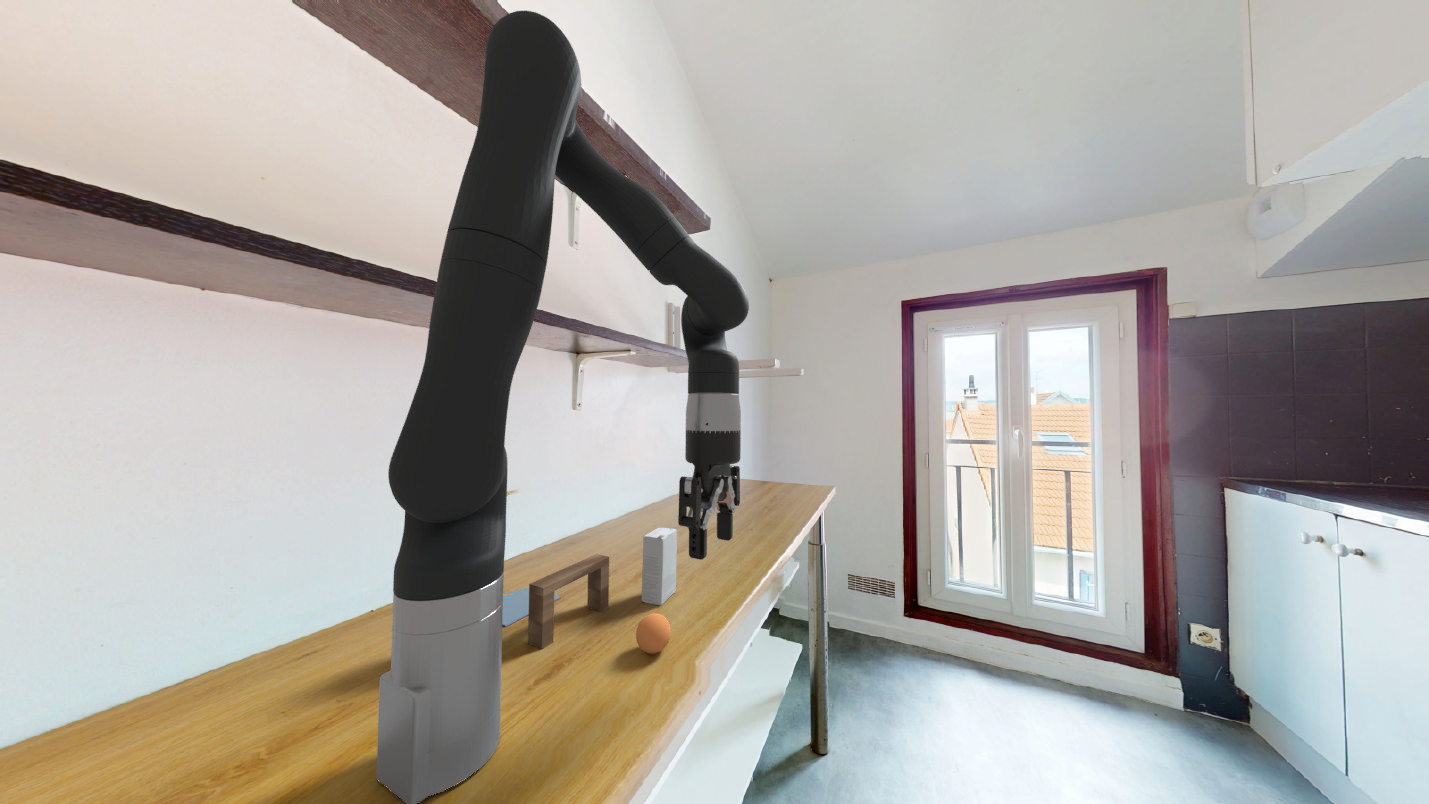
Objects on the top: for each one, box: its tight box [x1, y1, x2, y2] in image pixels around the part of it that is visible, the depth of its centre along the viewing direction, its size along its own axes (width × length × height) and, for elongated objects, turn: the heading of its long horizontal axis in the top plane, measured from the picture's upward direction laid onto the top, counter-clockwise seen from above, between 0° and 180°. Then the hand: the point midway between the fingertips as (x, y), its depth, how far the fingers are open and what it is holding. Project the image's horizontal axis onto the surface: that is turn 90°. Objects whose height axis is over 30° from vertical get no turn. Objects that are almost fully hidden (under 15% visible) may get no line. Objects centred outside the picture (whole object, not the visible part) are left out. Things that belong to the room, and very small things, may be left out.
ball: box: [635, 613, 672, 655], centre depth 56 cm, size 5×5×5 cm
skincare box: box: [641, 527, 678, 606], centre depth 73 cm, size 6×4×12 cm
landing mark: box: [502, 586, 562, 627], centre depth 70 cm, size 11×11×1 cm
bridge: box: [527, 553, 610, 650], centre depth 64 cm, size 3×14×9 cm, turn 154°
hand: (712, 547), depth 53 cm, fingers open, 8 cm apart
